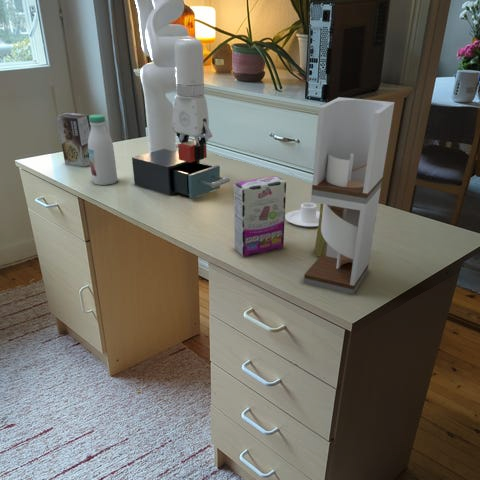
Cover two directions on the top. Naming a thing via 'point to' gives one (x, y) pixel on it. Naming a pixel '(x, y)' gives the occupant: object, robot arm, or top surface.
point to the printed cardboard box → (74, 138)
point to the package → (189, 151)
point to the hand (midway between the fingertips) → (192, 157)
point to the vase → (320, 238)
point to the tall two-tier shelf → (348, 187)
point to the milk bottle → (101, 152)
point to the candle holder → (304, 215)
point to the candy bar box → (259, 215)
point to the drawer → (196, 179)
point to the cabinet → (156, 170)
